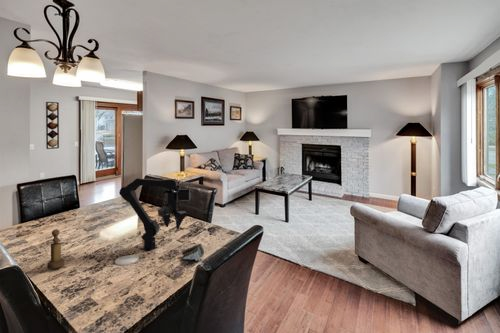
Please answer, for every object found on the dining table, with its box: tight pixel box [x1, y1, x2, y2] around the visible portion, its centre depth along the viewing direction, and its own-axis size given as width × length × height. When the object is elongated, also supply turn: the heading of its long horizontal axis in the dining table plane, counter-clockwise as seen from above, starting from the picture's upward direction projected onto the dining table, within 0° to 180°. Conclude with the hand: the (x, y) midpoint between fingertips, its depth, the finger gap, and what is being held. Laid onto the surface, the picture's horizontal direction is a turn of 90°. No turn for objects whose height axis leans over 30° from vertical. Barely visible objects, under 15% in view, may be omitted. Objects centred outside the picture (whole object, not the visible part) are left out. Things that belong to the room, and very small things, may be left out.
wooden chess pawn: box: [46, 228, 65, 270], centre depth 121 cm, size 7×6×18 cm
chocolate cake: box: [181, 243, 205, 261], centre depth 130 cm, size 10×7×12 cm
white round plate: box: [114, 254, 140, 266], centre depth 128 cm, size 11×11×1 cm
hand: (172, 228), depth 143 cm, fingers open, 9 cm apart
